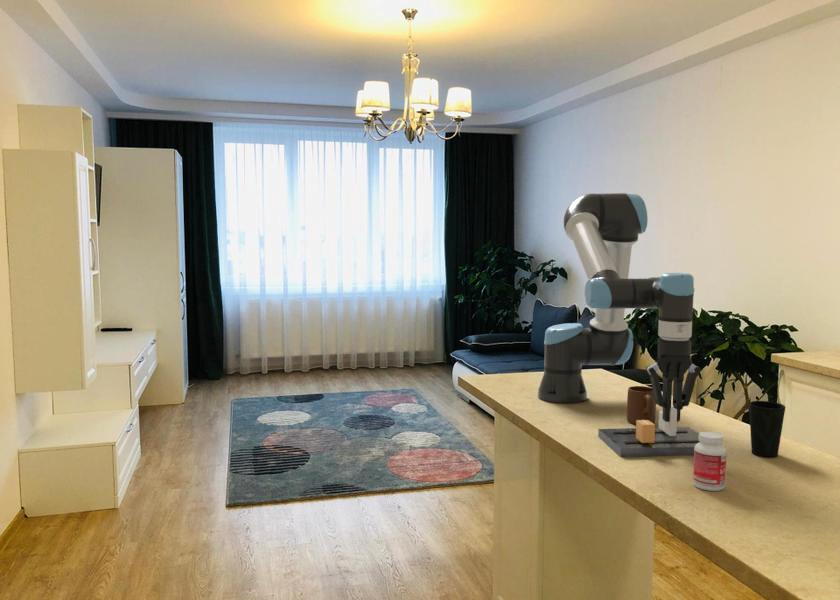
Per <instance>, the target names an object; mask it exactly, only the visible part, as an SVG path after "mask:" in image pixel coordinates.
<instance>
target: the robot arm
mask: <svg viewBox="0 0 840 600" xmlns="http://www.w3.org/2000/svg"><path fill="white" fill-rule="evenodd" d="M647 227H648V209H647V207H646V203H645V201H644V199H643V198H642V197H641V195H639V194H636V193H627V192H626V193H625V192H622V193H619V192H617V193H611V192H610V193H587V194H584V195H580V196H579V197H577V198H576V199H575V200H573V201H572V202H571V203H570V204H569V206H568V207H567V209H566V211H565V214H564V216H563V228H564V232H565V234H566V236H567V237H568V238H569V239H570V240H571V241H573V242H572V243H573V244H574V247H575V249H576V252H577V254H578V257H579V259H580V262H581V264H582V267H583V270H584V272H585V274H586V277H587V279H588V280H587V281H586V283H585V285H584V297H585V303H586V305H587V306H588V308H591V309H595V315H594V317H593V318H592V319H590V320H589V327H585V328H584V326H583V324H582V323H577V322H573V323H570V322H569V323H568V322H567V323H561V324H560V323H559V324H555V325H552V326H549V327H548V328H547V329H546V330H545V332H544V341H543V344H544V351H543V353H544V358H543V360H544V361H543V365H544V366H543V375H542V379H541V381H540V384H539V387H538V390H537V394H538V395H537V397H538V398H539V399H540V400H542V401H546V402H549V403H550V402H551V403H557V404H558V403H559V404H576V403H577V404H578V403H581V402H585V401H587V399H588V397H587V395H588V394H587V393H588V392H587V388H586V384H585V381H584V379H583V373H582V368H583V366H615V365H616V366H617V365H623V364H625V363H627V362H628V361H629V359H630V358H631V356H632V352H633V348H634V340H633V339H634V335H633V332H632V330H631V329H630V328H629V324H628V322H627V321H625V319H624V318H625V311H626V309H656V310H657V309H658V323H657V324H658V325H657V326H658V327H657V328H658V329H657V335H658V336H659V338H658V339H657V349H656V350H657V352H656V353H657V357H656V358H655V360H654V362H655V363H652V364H651V365H650V366H649V365H647V366H646V367H645V370H646V372H647V373H648V375H649V379H650V383H651V388H652V390H653V395H654V400H655V403H656V406H659V407H661V408H662V411H663V417H662V418H663V420H664V421H665V422H666V428H665V433H666V434H668V435H669V436H676V425H677V426H678V422H680V420H681V411H682V410H683V409H684V407H688V406H690V402H691V398H692V395H693V391H694V388H695V384H696V381H697V378H698V376H699V374H700V373H701V371H702V368H701V367H700V366H697V365H695V364H694V363H693V360H692V358H691V354H692V340H691V338H692V337H693V336H692V334H693V333H692V332H693V312H694V311H693V309H694V294H695V286H694V285H695V284H694V276H693V275H692V274H691V273H684V272H665V273H662V274H661V276H660V277H659V276H657V277H647V278H629V274H630V267H631V266H630V265H631V255H632V246H633V245H634V244H636V243H637V242H638V241H639V235H641V234H643V233H645V232H646V229H647ZM659 371H660V372H661V376H662V388H661V383H660V377H659V375H658V374H659ZM687 371H688V372H687ZM685 374H686V378H685ZM684 380H685V381H684ZM683 382H684V383H683Z"/></svg>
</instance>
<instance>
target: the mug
mask: <svg viewBox="0 0 840 600" xmlns="http://www.w3.org/2000/svg"><path fill="white" fill-rule="evenodd" d="M626 401H627V402H626V404H627V405H626V410H627V411H626V420H627V422H628V423H630V424H632V425H635V426H636V420H649V421H650V422H652V423H653V424H655V423H656V417H657V416H656V413H657V404H656V403H655V400H654V395H653V390H652V386H651V387H649V386H643V385H642V386H641V385H635V386H633V385H632V386H629V387H628V388H627V400H626Z"/></svg>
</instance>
